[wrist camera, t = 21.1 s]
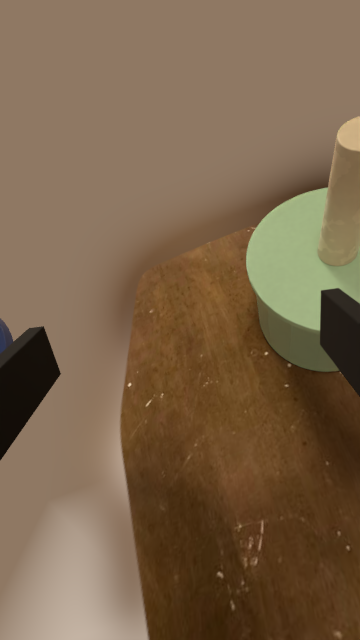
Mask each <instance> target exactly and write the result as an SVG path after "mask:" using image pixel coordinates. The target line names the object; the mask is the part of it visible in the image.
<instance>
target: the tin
mask: <svg viewBox="0 0 360 640" xmlns="http://www.w3.org/2000/svg"><path fill="white" fill-rule="evenodd" d="M257 304H258V312H259V321H260V327H261V329H262V331H263V333H264V336H265V338H266V340H267V341H268V343H269V344H270V346H271V347H272V348H273V349H274V350H275V351H276V352H277V353H278V354H279V355H280V356H282V357H283V358H284V359H286V360H287V361H289V362H291V363H293V364H295V365H297V366H299V367H302V368H306V369H309V370H314V371H323V372H332V371H340V370H339V369H338V368H337V366H336V365H335V364H334V362H333V361H332V360H331V358H330V357H329V356H328V355H327V353H326V352H325V351H324V349H323V348H322V347H321V345H320V334H316V333H312V332H308V331H305V330H303V329H300V328H297V327H295V326H293V325H291V324H289V323H287V322H285V321H283V320H282V319H280V318H279V317H277V316H276V315H274V314H273V313H272V312H271V311H270V310H269V309H267V308H266V307H265V306H264V304H263V303H262V302H261V301H260V300H259V298H258V297H257Z"/></svg>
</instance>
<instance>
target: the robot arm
mask: <svg viewBox="0 0 360 640" xmlns="http://www.w3.org/2000/svg"><path fill="white" fill-rule="evenodd" d="M320 345H321V347H322V348H323V349H324V351H325V352H326V353H327V355H328V356H329V357H330V358H331V360H332V361H333V362H334V364H335V365H336V366H337V368H338V369H339V370H340V371H341V373H342V374H343V375H344V377H345V378H346V379H347V381H348V382H349V383H350V385H351V386H352V387H353V388H354V390H355V391H356V392H357V394H358V395H359V396H360V303H358V302H357V301H356V300H354V299H353V298H352V297H350V296H349V295H347V294H346V293H345V292H343V291H342V290H341V289H339V288H335V289H327V290H321V311H320ZM60 374H61V373H60V371H59V368H58V365H57V362H56V359H55V357H54V354H53V351H52V348H51V345H50V343H49V340H48V337H47V334H46V332H45V329H44V327H36V328H29V329H28V330H26V331H25V332H24V333H23V334H22V335H21V336H20V337H19V338H17V339H16V340H15V341H14V342H13V343H12V344H11V345H10V346H8V347H7V348H6V349H5V350H4V351H3V352H2V353H0V460H1V459H2V457H3V456H4V454H5V453H6V452H7V450H8V449H9V447H10V446H11V444H12V443H13V442H14V440H15V439H16V437H17V436H18V434H19V433H20V432H21V430H22V429H23V427H24V426H25V424H26V423H27V421H28V420H29V418H30V417H31V416H32V414H33V412H34V411H35V410H36V409H37V407H38V406H39V404H40V403H41V401H42V400H43V398H44V397H45V396H46V394H47V393H48V391H49V390H50V389H51V387H52V386H53V384H54V383H55V381H56V380H57V378H58V377H59V376H60Z"/></svg>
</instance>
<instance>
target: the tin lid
mask: <svg viewBox="0 0 360 640" xmlns="http://www.w3.org/2000/svg"><path fill="white" fill-rule="evenodd" d="M246 266H247V274H248V278H249V281H250V284H251V286H252V288H253V291H254V292H255V294H256V295H257V297H258V298H259V300H260V301H261V302H262V303H263V304H264V306H265V307H266V308H267V309H269V310H270V311H271V312H272V313H273V314H274V315H276V316H277V317H279V318H280V319H282V320H283V321H285V322H287V323H289V324H291V325H293V326H295V327H297V328H300V329H303V330H305V331H308V332H312V333H316V334H320V311H321V290H327V289H335V288H339V289H341V290H342V291H343V292H345V293H346V294H347V295H349V296H350V297H352V298H353V299H354V300H356V301H357V302H358V303H360V116H359V117H356V118H354V119H351V120H349V121H348V122H346V123H345V124H343V125H342V127H341V128H340V129H339V131H338V133H337V137H336V143H335V149H334V155H333V161H332V167H331V173H330V179H329V184H328V188H324V189H319V190H314V191H311V192H307V193H304V194H301V195H299V196H296V197H294V198H292V199H290V200H288V201H286V202H284V203H283V204H281V205H279V206H278V207H276V208H275V209H274V210H273V211H271V212H270V213H269V214H268V215H267V216H266V217H265V218H264V219H263V220H262V221H261V222H260V224H259V225H258V226H257V228H256V229H255V231H254V233H253V234H252V237H251V239H250V242H249V244H248V249H247V254H246Z"/></svg>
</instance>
